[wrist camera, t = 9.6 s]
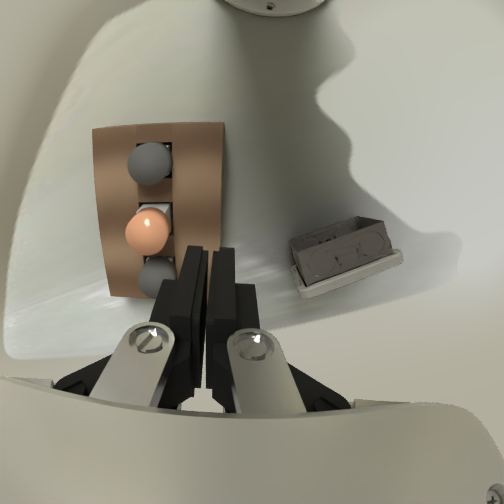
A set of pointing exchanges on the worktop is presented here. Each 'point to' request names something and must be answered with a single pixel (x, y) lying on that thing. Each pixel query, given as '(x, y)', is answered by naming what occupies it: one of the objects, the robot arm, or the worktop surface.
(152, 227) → the plug middle
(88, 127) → the worktop surface
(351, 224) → the electrical switch
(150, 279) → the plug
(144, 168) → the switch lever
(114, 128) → the wooden socket board
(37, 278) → the worktop surface
